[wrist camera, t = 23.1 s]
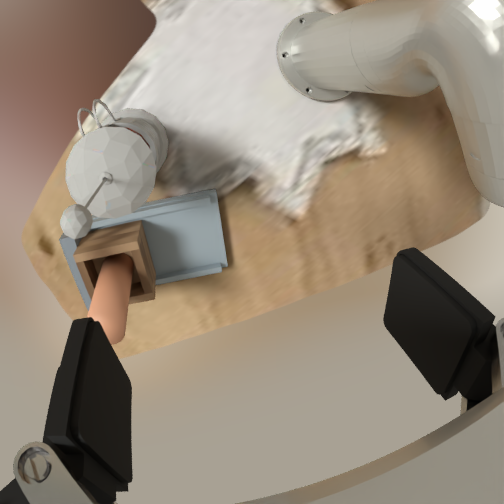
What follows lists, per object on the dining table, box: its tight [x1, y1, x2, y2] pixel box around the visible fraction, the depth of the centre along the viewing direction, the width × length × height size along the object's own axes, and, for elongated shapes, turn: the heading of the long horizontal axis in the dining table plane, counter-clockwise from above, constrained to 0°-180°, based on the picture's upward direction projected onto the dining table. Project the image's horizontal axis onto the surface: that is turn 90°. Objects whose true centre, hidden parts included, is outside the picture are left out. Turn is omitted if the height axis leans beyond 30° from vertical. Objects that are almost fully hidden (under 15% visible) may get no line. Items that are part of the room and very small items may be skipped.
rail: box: [59, 189, 228, 311], centre depth 40 cm, size 20×11×6 cm, turn 96°
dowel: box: [87, 253, 134, 345], centre depth 33 cm, size 4×4×12 cm
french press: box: [60, 99, 169, 240], centre depth 25 cm, size 10×12×25 cm
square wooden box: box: [73, 220, 156, 304], centre depth 38 cm, size 8×8×6 cm
